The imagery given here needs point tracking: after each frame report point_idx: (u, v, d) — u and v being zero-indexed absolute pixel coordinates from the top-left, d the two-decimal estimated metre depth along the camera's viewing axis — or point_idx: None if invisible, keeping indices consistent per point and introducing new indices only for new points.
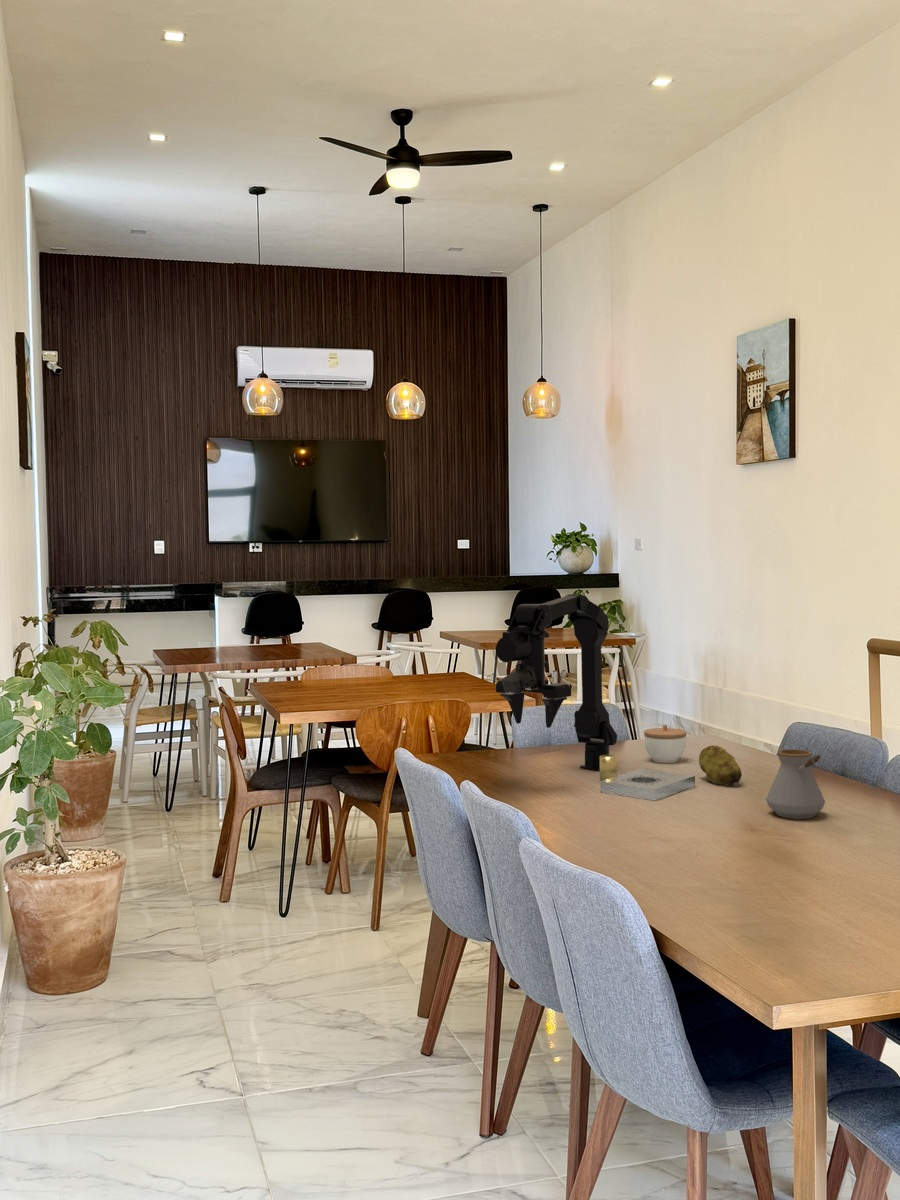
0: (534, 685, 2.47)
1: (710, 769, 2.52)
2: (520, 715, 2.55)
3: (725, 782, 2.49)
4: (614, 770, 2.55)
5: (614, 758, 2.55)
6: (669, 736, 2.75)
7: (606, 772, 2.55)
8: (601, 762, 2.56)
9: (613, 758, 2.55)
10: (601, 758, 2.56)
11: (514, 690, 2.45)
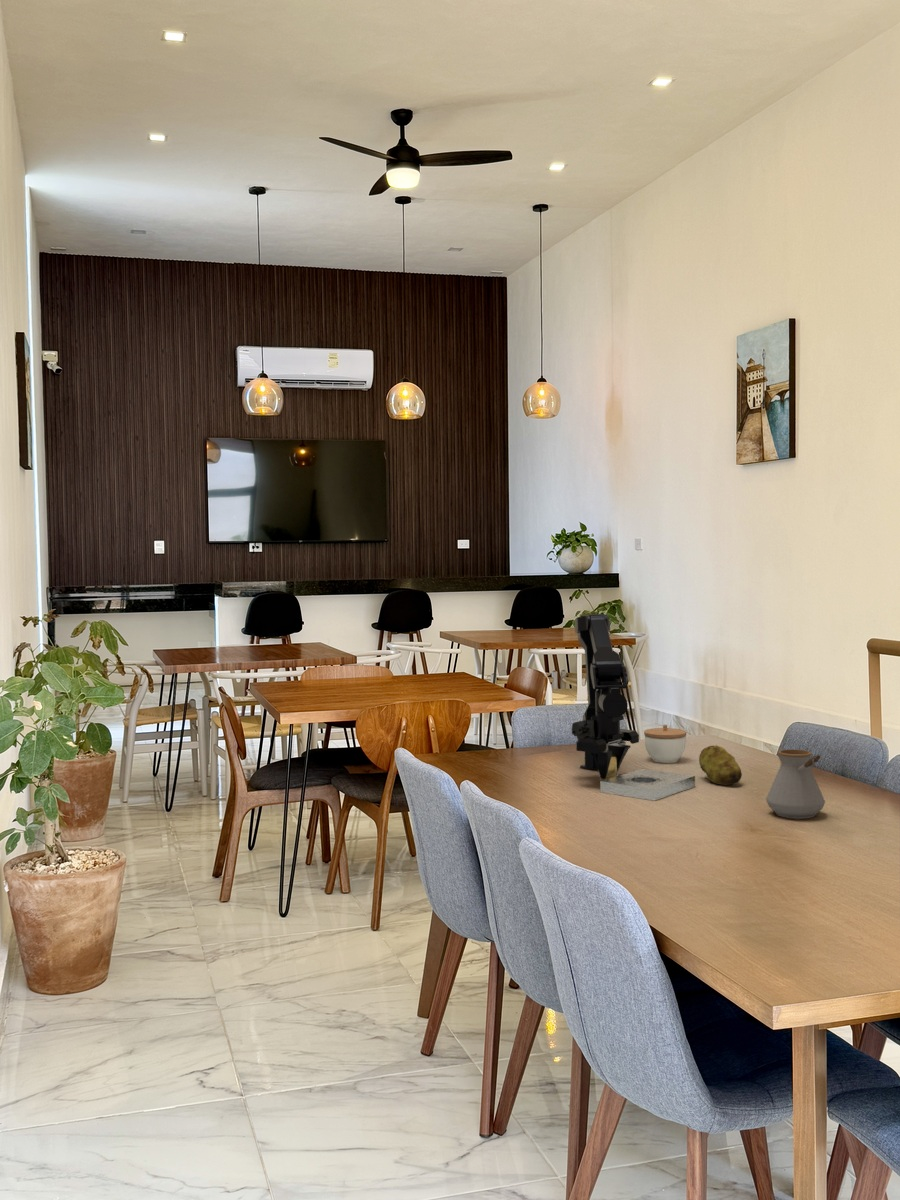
0: (591, 736, 2.56)
1: (710, 769, 2.52)
2: None
3: (725, 782, 2.49)
4: (614, 770, 2.55)
5: (614, 758, 2.55)
6: (669, 736, 2.75)
7: None
8: None
9: (613, 758, 2.55)
10: None
11: None
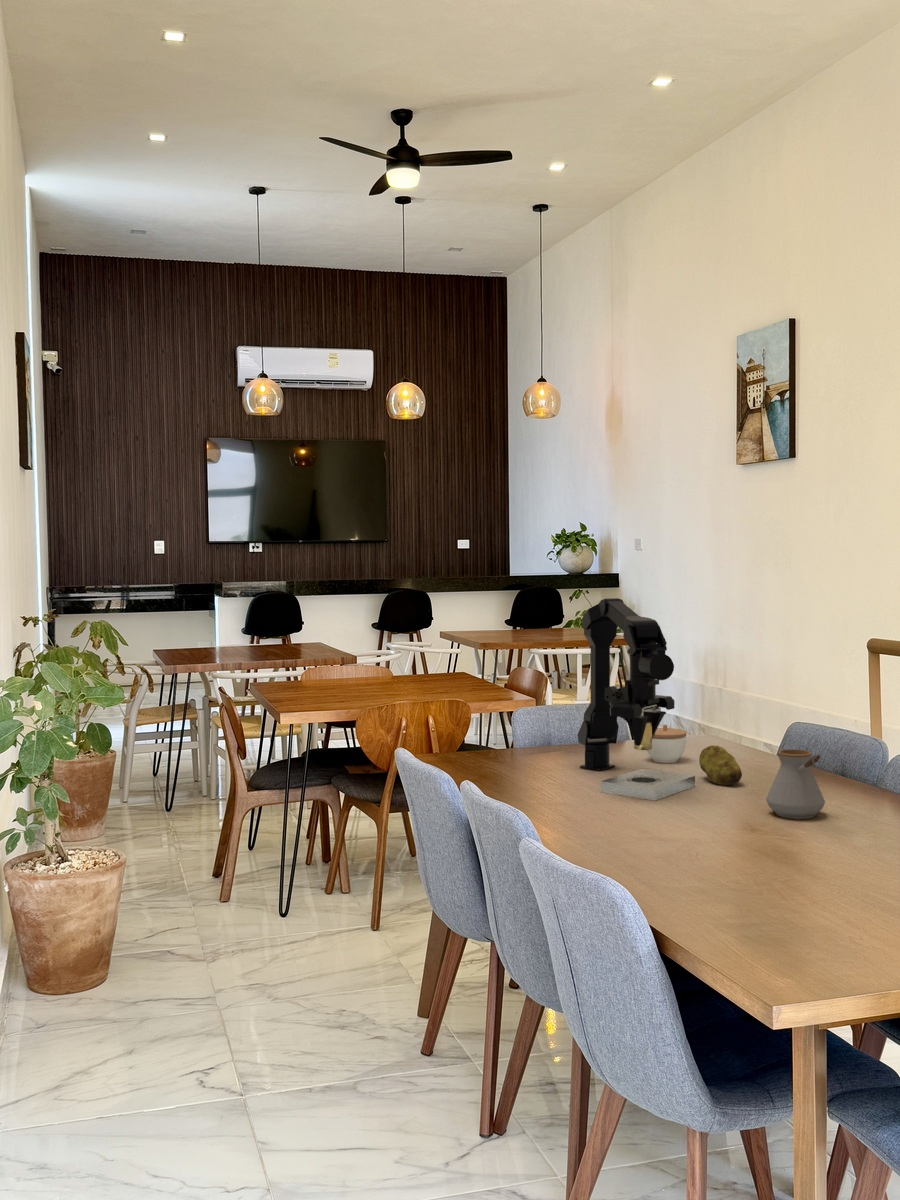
0: (625, 701, 2.45)
1: (711, 770, 2.52)
2: None
3: (725, 782, 2.49)
4: (649, 737, 2.44)
5: (649, 724, 2.44)
6: (669, 736, 2.75)
7: None
8: None
9: (648, 724, 2.44)
10: None
11: None
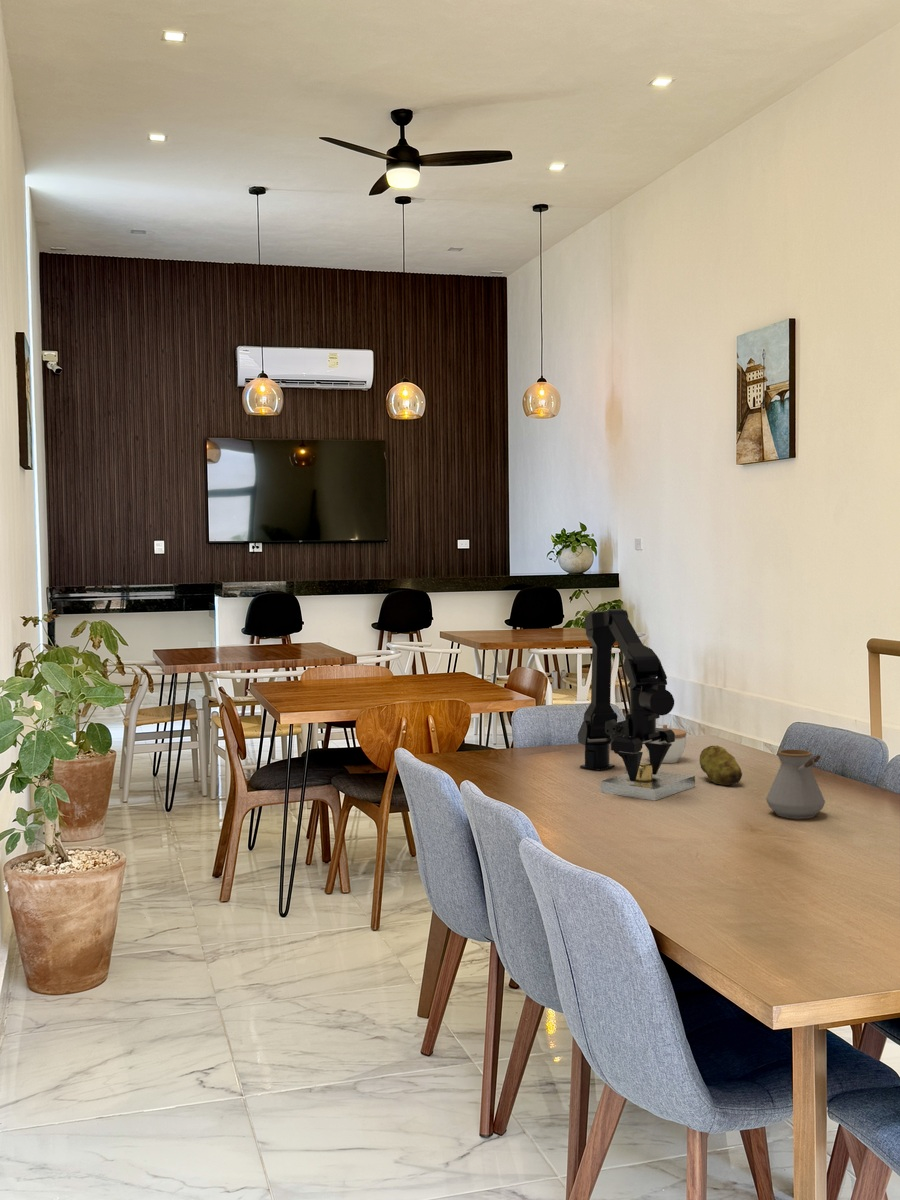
0: (626, 735, 2.45)
1: (711, 770, 2.52)
2: (655, 766, 2.49)
3: (725, 782, 2.49)
4: (650, 779, 2.44)
5: (650, 767, 2.44)
6: None
7: (642, 781, 2.44)
8: None
9: (649, 767, 2.44)
10: None
11: None
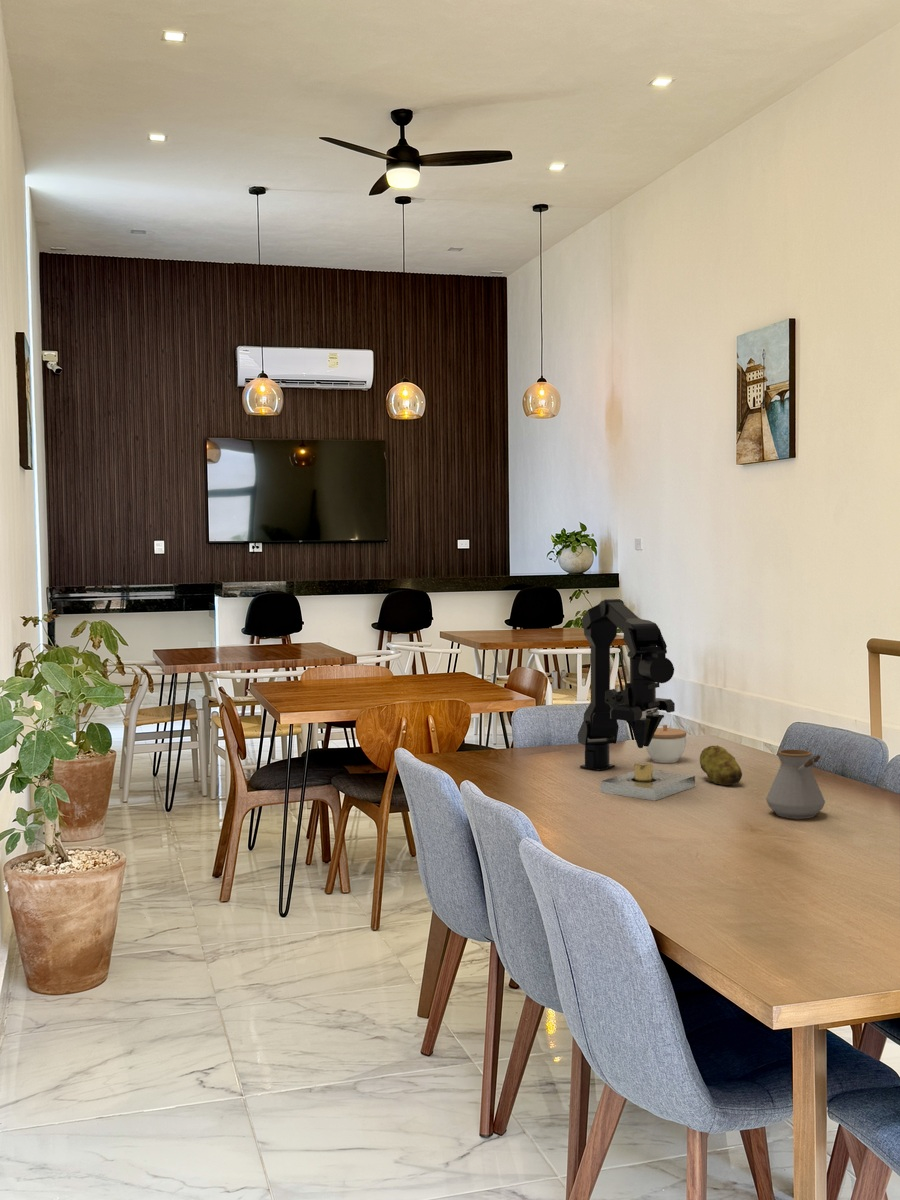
0: (625, 704, 2.45)
1: (711, 770, 2.52)
2: (647, 738, 2.46)
3: (725, 782, 2.49)
4: (650, 779, 2.44)
5: (650, 767, 2.44)
6: (669, 736, 2.75)
7: (642, 781, 2.44)
8: (636, 771, 2.45)
9: (649, 767, 2.44)
10: (636, 767, 2.45)
11: None
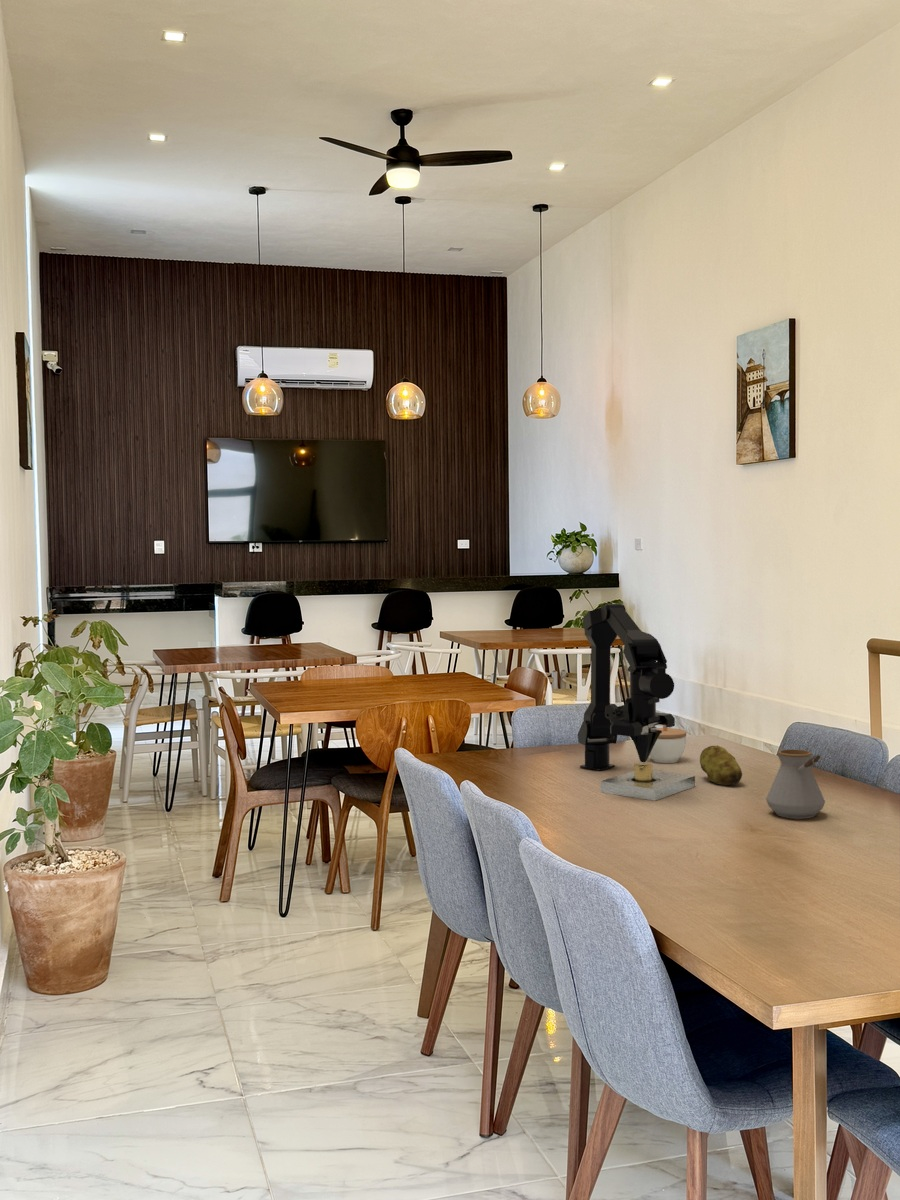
0: (625, 719, 2.45)
1: (711, 769, 2.52)
2: None
3: (725, 782, 2.49)
4: (650, 779, 2.44)
5: (650, 767, 2.44)
6: (669, 736, 2.75)
7: (642, 781, 2.44)
8: (636, 771, 2.45)
9: (649, 767, 2.44)
10: (636, 767, 2.45)
11: None
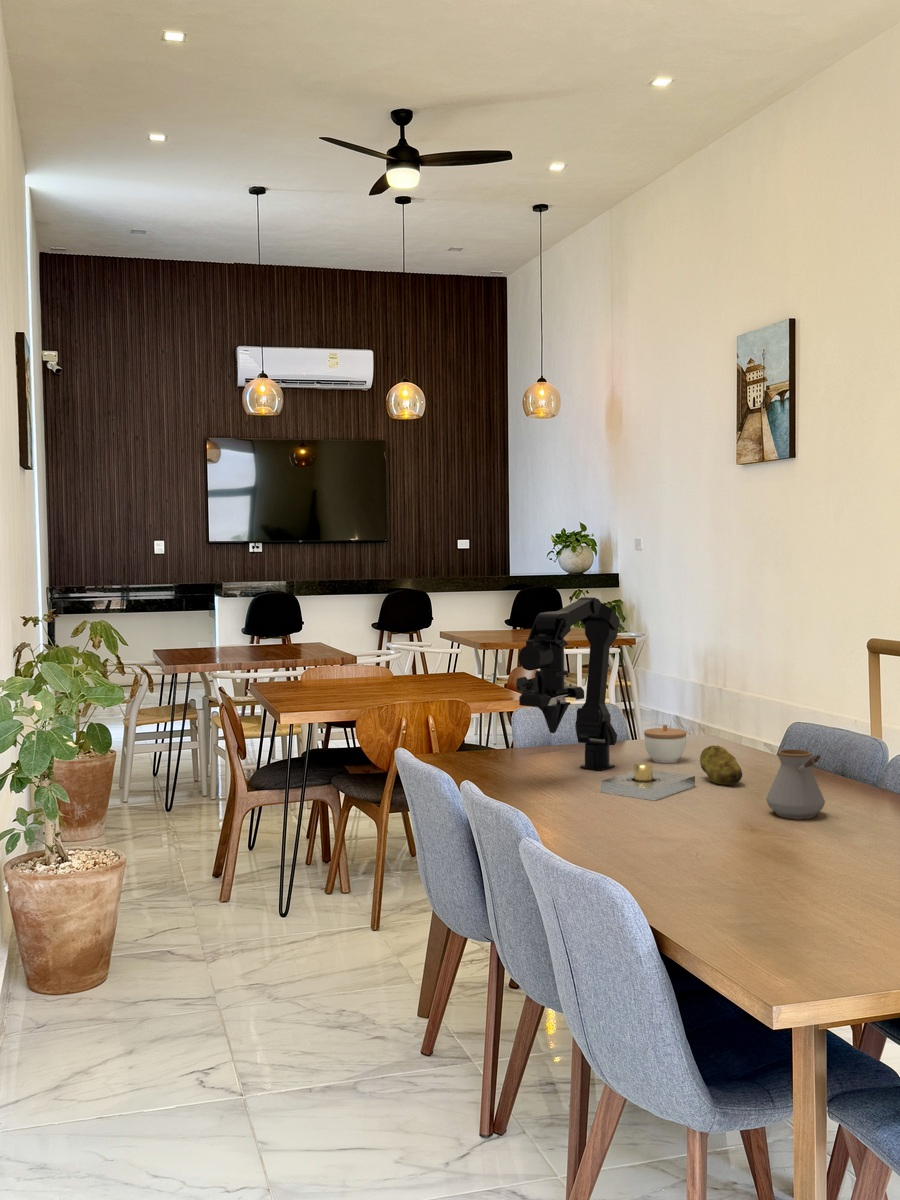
0: (535, 691, 2.54)
1: (711, 769, 2.52)
2: None
3: (725, 782, 2.49)
4: (650, 779, 2.44)
5: (650, 767, 2.44)
6: (669, 736, 2.75)
7: (642, 781, 2.44)
8: (636, 771, 2.45)
9: (649, 767, 2.44)
10: (636, 767, 2.45)
11: None
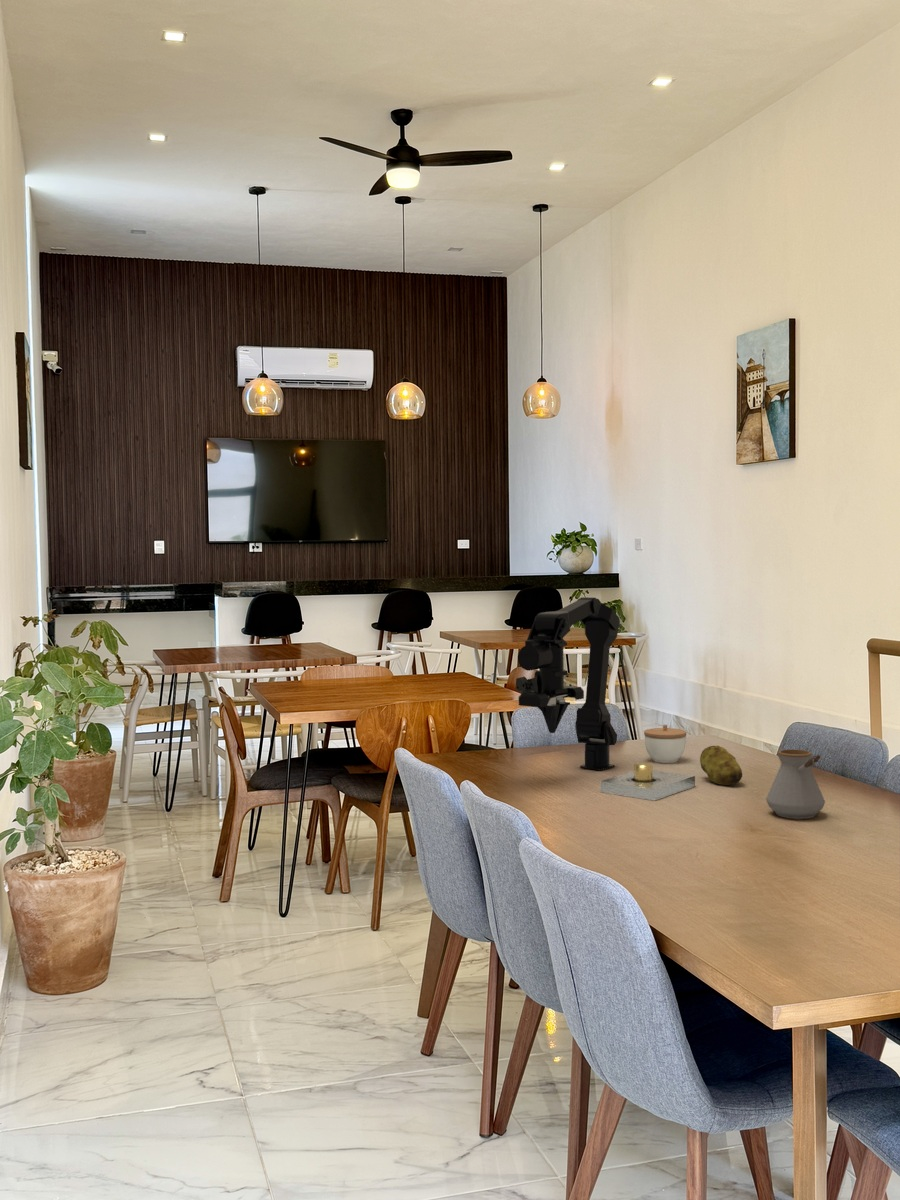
0: (535, 691, 2.54)
1: (711, 770, 2.52)
2: None
3: (725, 782, 2.49)
4: (650, 779, 2.44)
5: (650, 767, 2.44)
6: (669, 736, 2.75)
7: (642, 781, 2.44)
8: (636, 771, 2.45)
9: (649, 767, 2.44)
10: (636, 767, 2.45)
11: None
